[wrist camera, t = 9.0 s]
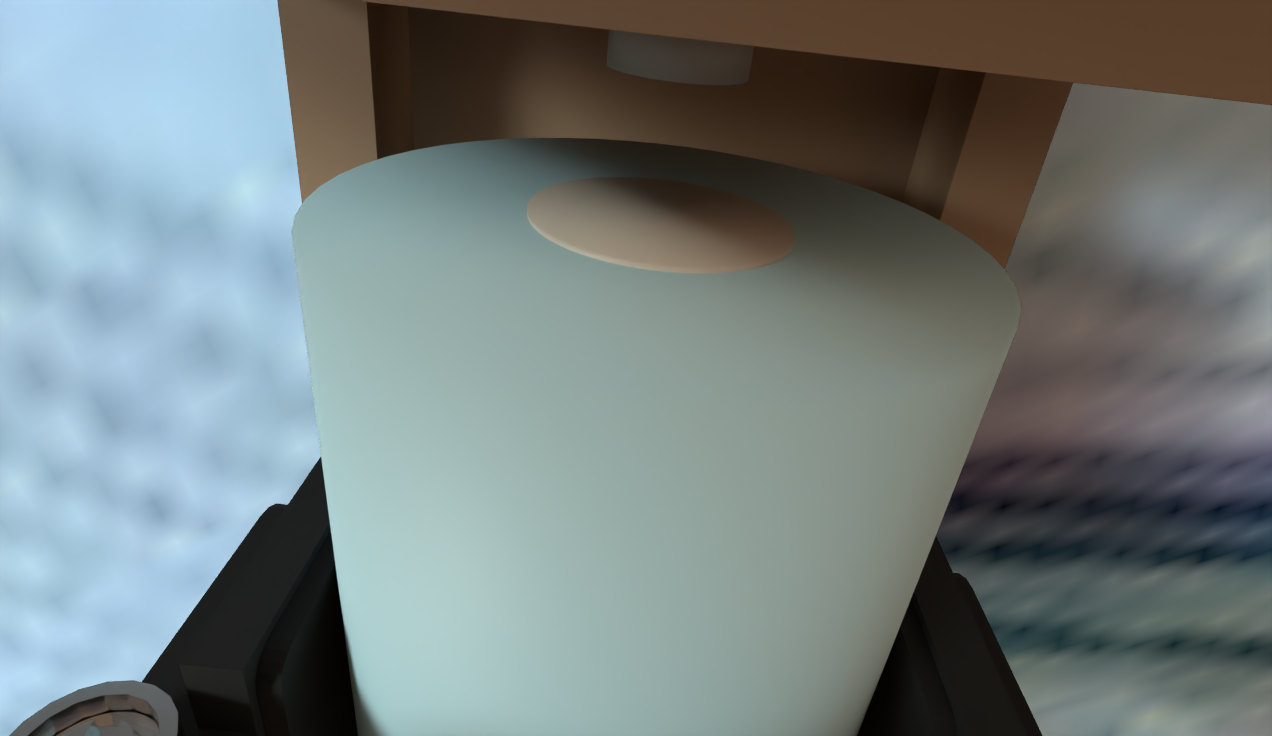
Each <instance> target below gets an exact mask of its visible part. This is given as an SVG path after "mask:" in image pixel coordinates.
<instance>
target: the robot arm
mask: <svg viewBox="0 0 1272 736" xmlns="http://www.w3.org/2000/svg"><path fill="white" fill-rule="evenodd" d="M10 736H358V732H357V724H356V717H355V709H354V702H353V694H352V686H351V679H350V671H349V664H348V656H347V649H346V641H345V633H344V626H343V618H342V611H341V603H340V596H339V588H338V580H337V573H336V565H335V558H334V550H333V543H332V535H331V527H330V520H329V512H328V505H327V497H326V490H325V482H324V474H323V467H322V459H321V457H320V459H319V460H318V462H317V463H316V464H315V466H314V467H313V469H312V470H311V472H310V473H309V475H308V476H307V478H306V479H305V481H304V482H303V484H302V485H301V486H300V488H299V489H298V491H297V492H296V494H295V495H294V497H293V498H292V500H291V501H290V503H289V504H288V505H285V504H275V505H272V506H270V507H269V508H268V509H267V510H266V511H265V512H264V513H263V514H262V515H261V516H260V518H259V519H258V521H257V522H256V523H255V525H254V526H253V527H252V529H251V530H250V532H249V533H248V534H247V536H246V537H245V539H244V540H243V541H242V543H241V544H240V546H239V547H238V548H237V550H236V551H235V553H234V554H233V555H232V557H231V558H230V560H229V561H228V562H227V564H226V565H225V567H224V568H223V569H222V571H221V572H220V574H219V575H218V576H217V578H216V579H215V581H214V582H213V583H212V585H211V586H210V587H209V589H208V590H207V592H206V593H205V594H204V596H203V597H202V599H201V600H200V601H199V603H198V604H197V606H196V607H195V608H194V610H193V611H192V613H191V614H190V615H189V617H188V618H187V620H186V621H185V622H184V624H183V625H182V627H181V628H180V629H179V631H178V632H177V634H176V635H175V636H174V638H173V639H172V640H171V642H170V643H169V645H168V646H167V647H166V649H165V650H164V652H163V653H162V654H161V656H160V657H159V659H158V660H157V661H156V663H155V664H154V666H153V667H152V668H151V670H150V671H149V673H148V674H147V675H146V677H145V678H144V680H143V681H142V682H138V681H134V680H131V681H112V682H105V683H101V684H97V685H94V686H90V687H86V688H82V689H79V690H77V691H75V692H73V693H70V694H68V695H66V696H64V697H62V698H60V699H58V700H55V701H53V702H51V703H49V704H48V705H47V706H45V707H44V708H42V709H41V710H39V711H38V712H36V713H35V714H34V715H32V716H31V717H29V718H28V719H26V720H25V721H23V723H22V724H21V725H20V726H19V727H18V728H17V729H16V730H15V731H14V732H13V733H12V734H11V735H10ZM857 736H1042V734H1041V732H1040V730H1039V727H1038V725H1037V723H1036V721H1035V719H1034V717H1033V715H1032V713H1031V711H1030V709H1029V706H1028V704H1027V702H1026V700H1025V698H1024V696H1023V694H1022V692H1021V690H1020V688H1019V685H1018V683H1017V681H1016V679H1015V677H1014V675H1013V673H1012V671H1011V669H1010V666H1009V664H1008V662H1007V660H1006V658H1005V656H1004V654H1003V652H1002V650H1001V648H1000V645H999V643H998V641H997V639H996V637H995V635H994V633H993V631H992V629H991V627H990V624H989V622H988V620H987V618H986V616H985V614H984V612H983V610H982V608H981V605H980V603H979V601H978V599H977V597H976V595H975V593H974V591H973V589H972V587H971V585H970V584H969V582H968V581H967V579H966V578H965V577H963V576H962V575H960V574H959V573H953V572H952V570H951V568H950V566H949V563H948V561H947V559H946V557H945V555H944V552H943V550H942V548H941V546H940V544H939V541H938V539H937V537H936V536H935V539H934V542H933V544H932V547H931V549H930V552H929V554H928V557H927V559H926V562H925V564H924V567H923V569H922V572H921V575H920V577H919V580H918V582H917V585H916V587H915V590H914V592H913V595H912V597H911V600H910V602H909V605H908V608H907V610H906V613H905V615H904V618H903V620H902V623H901V625H900V628H899V630H898V633H897V636H896V638H895V641H894V643H893V646H892V648H891V651H890V653H889V656H888V658H887V661H886V663H885V666H884V669H883V671H882V674H881V676H880V679H879V681H878V684H877V686H876V689H875V691H874V694H873V696H872V699H871V702H870V704H869V707H868V709H867V712H866V714H865V717H864V719H863V722H862V724H861V727H860V730H859V732H858V735H857Z"/></svg>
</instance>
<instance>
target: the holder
mask: <svg viewBox="0 0 1272 736" xmlns="http://www.w3.org/2000/svg"><path fill="white" fill-rule="evenodd" d="M278 8H279V16H280V25H281V33H282V41H283V49H284V58H285V66H286V74H287V82H288V91H289V99H290V107H291V115H292V124H293V132H294V140H295V148H296V157H297V165H298V173H299V181H300V189H301V198H302V204H303V202H304V200H305V199H306V198H307V197H309V196H310V195H311V194H312V193H313V192H314V191H315V190H316V189H317V188H318V187H320V186H321V185H323V184H324V183H326V182H328V181H329V180H331V179H333V178H334V177H336V176H338V175H339V174H342V173H344V172H346V171H348V170H351V169H353V168H355V167H358V166H360V165H362V164H365V163H369V162H372V161H375V160H378V159H381V158H384V157H387V156H391V155H396V154H400V153H404V152H408V151H412V150H417V149H423V148H429V147H434V146H440V145H447V144H455V143H463V142H471V141H484V140H496V139H517V138H589V139H608V140H625V141H636V142H647V143H658V144H666V145H674V146H683V147H691V148H697V149H704V150H710V151H717V152H723V153H728V154H734V155H739V156H745V157H750V158H755V159H760V160H764V161H769V162H773V163H778V164H783V165H787V166H791V167H795V168H799V169H803V170H807V171H810V172H814V173H818V174H821V175H825V176H828V177H831V178H835V179H838V180H842V181H845V182H848V183H851V184H854V185H857V186H860V187H863V188H866V189H869V190H872V191H874V192H877V193H879V194H882V195H885V196H887V197H890V198H892V199H895V200H897V201H900V202H902V203H904V204H907V205H909V206H911V207H913V208H915V209H918V210H920V211H922V212H924V213H926V214H928V215H930V216H932V217H934V218H936V219H938V220H940V221H942V222H943V223H945V224H947V225H949V226H951V227H952V228H954V229H956V230H957V231H959V232H960V233H962V234H963V235H965V236H967V237H968V238H970V239H971V240H973V241H974V242H975V243H976V244H978V245H979V246H980V247H981V248H983V249H984V250H985V251H987V252H988V253H989V254H990V255H991V256H992V257H993V258H994V259H995V260H996V261H997V262H998V263H999V264H1000V265H1001V266H1002V267H1003V268H1004V269H1005V267H1006V264H1007V261H1008V259H1009V256H1010V253H1011V250H1012V248H1013V245H1014V242H1015V239H1016V237H1017V234H1018V231H1019V229H1020V226H1021V223H1022V220H1023V218H1024V215H1025V212H1026V209H1027V207H1028V204H1029V201H1030V199H1031V196H1032V193H1033V190H1034V188H1035V185H1036V182H1037V180H1038V177H1039V174H1040V171H1041V169H1042V166H1043V163H1044V160H1045V158H1046V155H1047V152H1048V150H1049V147H1050V144H1051V141H1052V139H1053V136H1054V133H1055V130H1056V128H1057V125H1058V122H1059V120H1060V117H1061V114H1062V111H1063V109H1064V106H1065V103H1066V101H1067V98H1068V95H1069V92H1070V90H1071V87H1072V84H1073V82H1074V83H1083V84H1092V85H1100V86H1109V87H1118V88H1127V89H1136V90H1144V91H1153V92H1162V93H1171V94H1179V95H1188V96H1197V97H1206V98H1214V99H1223V100H1232V101H1241V102H1250V103H1258V104H1267V105H1272V0H278Z"/></svg>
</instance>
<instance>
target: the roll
mask: <svg viewBox="0 0 1272 736" xmlns="http://www.w3.org/2000/svg"><path fill="white" fill-rule="evenodd" d="M292 240H293V247H294V255H295V262H296V270H297V277H298V285H299V293H300V300H301V308H302V315H303V323H304V330H305V338H306V346H307V353H308V361H309V368H310V376H311V383H312V391H313V399H314V406H315V414H316V421H317V429H318V436H319V444H320V452H321V459H322V467H323V474H324V482H325V490H326V497H327V505H328V512H329V520H330V527H331V535H332V543H333V550H334V558H335V565H336V573H337V580H338V588H339V596H340V603H341V611H342V618H343V626H344V633H345V641H346V649H347V656H348V664H349V671H350V679H351V686H352V694H353V702H354V709H355V717H356V724H357V732H358V736H857V735H858V732H859V730H860V727H861V724H862V722H863V719H864V717H865V714H866V712H867V709H868V707H869V704H870V702H871V699H872V696H873V694H874V691H875V689H876V686H877V684H878V681H879V679H880V676H881V674H882V671H883V669H884V666H885V663H886V661H887V658H888V656H889V653H890V651H891V648H892V646H893V643H894V641H895V638H896V636H897V633H898V630H899V628H900V625H901V623H902V620H903V618H904V615H905V613H906V610H907V608H908V605H909V602H910V600H911V597H912V595H913V592H914V590H915V587H916V585H917V582H918V580H919V577H920V575H921V572H922V569H923V567H924V564H925V562H926V559H927V557H928V554H929V552H930V549H931V547H932V544H933V542H934V539H935V536H936V534H937V531H938V529H939V526H940V524H941V521H942V519H943V516H944V514H945V511H946V508H947V506H948V503H949V501H950V498H951V496H952V493H953V491H954V488H955V486H956V483H957V481H958V478H959V475H960V473H961V470H962V468H963V465H964V463H965V460H966V458H967V455H968V453H969V450H970V448H971V445H972V442H973V440H974V437H975V435H976V432H977V430H978V427H979V425H980V422H981V420H982V417H983V414H984V412H985V409H986V407H987V404H988V402H989V399H990V397H991V394H992V392H993V389H994V387H995V384H996V381H997V379H998V376H999V374H1000V371H1001V369H1002V366H1003V364H1004V361H1005V359H1006V356H1007V354H1008V351H1009V348H1010V346H1011V343H1012V341H1013V338H1014V336H1015V333H1016V331H1017V328H1018V326H1019V321H1020V313H1021V302H1020V299H1019V295H1018V291H1017V288H1016V286H1015V285H1014V283H1013V281H1012V280H1011V278H1010V276H1009V275H1008V273H1007V272H1006V270H1005V269H1004V268H1003V267H1002V266H1001V265H1000V264H999V263H998V262H997V261H996V260H995V259H994V258H993V257H992V256H991V255H990V254H989V253H988V252H987V251H985V250H984V249H983V248H981V247H980V246H979V245H978V244H976V243H975V242H974V241H973V240H971V239H970V238H968V237H967V236H965V235H963V234H962V233H960V232H959V231H957V230H956V229H954V228H952V227H951V226H949V225H947V224H945V223H943V222H942V221H940V220H938V219H936V218H934V217H932V216H930V215H928V214H926V213H924V212H922V211H920V210H918V209H915V208H913V207H911V206H909V205H907V204H904V203H902V202H900V201H897V200H895V199H892V198H890V197H887V196H885V195H882V194H879V193H877V192H874V191H872V190H869V189H866V188H863V187H860V186H857V185H854V184H851V183H848V182H845V181H842V180H838V179H835V178H831V177H828V176H825V175H821V174H818V173H814V172H810V171H807V170H803V169H799V168H795V167H791V166H787V165H783V164H778V163H773V162H769V161H764V160H760V159H755V158H750V157H745V156H739V155H734V154H728V153H723V152H717V151H710V150H704V149H697V148H691V147H683V146H674V145H666V144H658V143H647V142H636V141H625V140H608V139H589V138H517V139H496V140H484V141H471V142H463V143H455V144H447V145H440V146H434V147H429V148H423V149H417V150H412V151H408V152H404V153H400V154H396V155H391V156H387V157H384V158H381V159H378V160H375V161H372V162H369V163H365V164H362V165H360V166H358V167H355V168H353V169H351V170H348V171H346V172H344V173H342V174H339V175H338V176H336V177H334V178H333V179H331V180H329V181H328V182H326V183H324V184H323V185H321V186H320V187H318V188H317V189H316V190H315V191H314V192H313V193H312V194H311V195H310V196H309V197H307V198H306V199H305V200H304V202H303V204H302V205H301V207H300V208H299V210H298V212H297V213H296V215H295V218H294V223H293V228H292Z"/></svg>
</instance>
